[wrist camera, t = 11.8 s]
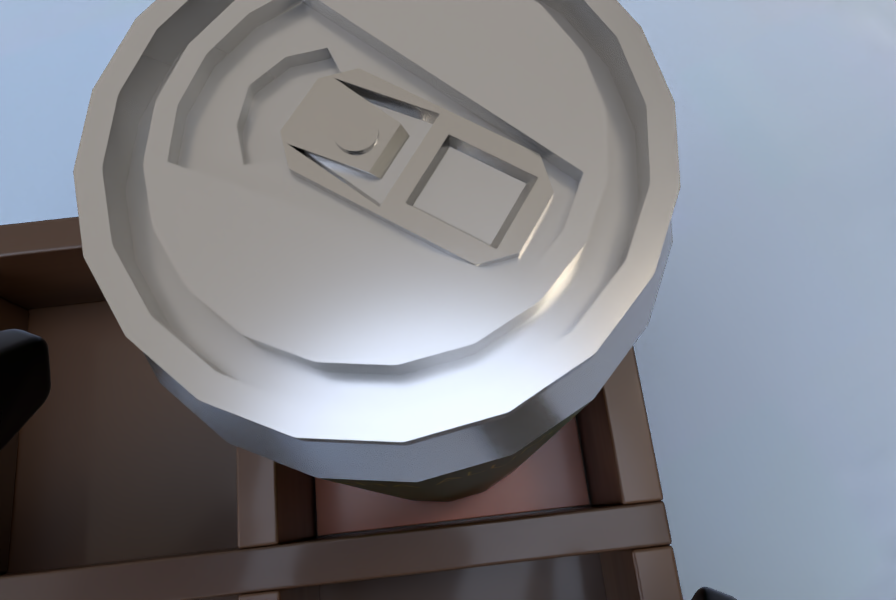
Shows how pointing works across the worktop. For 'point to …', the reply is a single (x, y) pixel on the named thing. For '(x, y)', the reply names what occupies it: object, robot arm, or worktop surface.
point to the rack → (287, 487)
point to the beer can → (381, 223)
